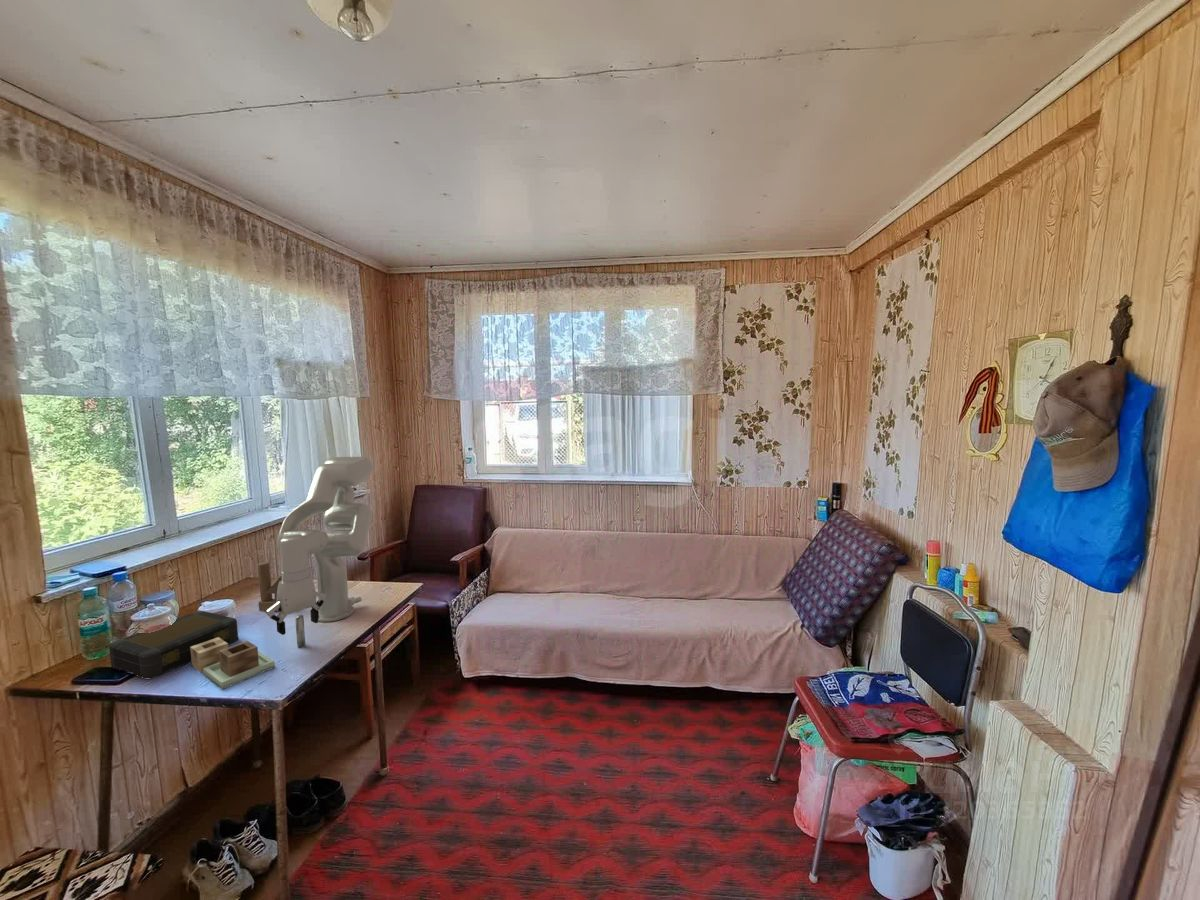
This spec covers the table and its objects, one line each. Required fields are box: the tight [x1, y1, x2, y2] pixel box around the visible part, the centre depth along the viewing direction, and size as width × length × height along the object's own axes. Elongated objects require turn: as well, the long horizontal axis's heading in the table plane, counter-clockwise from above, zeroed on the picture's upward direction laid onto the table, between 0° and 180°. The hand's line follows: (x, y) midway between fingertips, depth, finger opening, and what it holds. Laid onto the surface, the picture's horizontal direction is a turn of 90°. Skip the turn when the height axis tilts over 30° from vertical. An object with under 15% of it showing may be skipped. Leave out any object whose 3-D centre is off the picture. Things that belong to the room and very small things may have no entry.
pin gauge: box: [294, 614, 306, 649], centre depth 155 cm, size 2×2×10 cm
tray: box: [202, 650, 276, 690], centre depth 141 cm, size 13×13×2 cm
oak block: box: [190, 637, 229, 674], centre depth 145 cm, size 7×7×6 cm
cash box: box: [108, 610, 239, 679], centre depth 151 cm, size 25×20×8 cm
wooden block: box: [257, 561, 282, 613], centre depth 181 cm, size 4×11×18 cm, turn 80°
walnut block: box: [219, 640, 259, 677], centre depth 141 cm, size 7×7×6 cm
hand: (298, 627), depth 154 cm, fingers open, 9 cm apart
